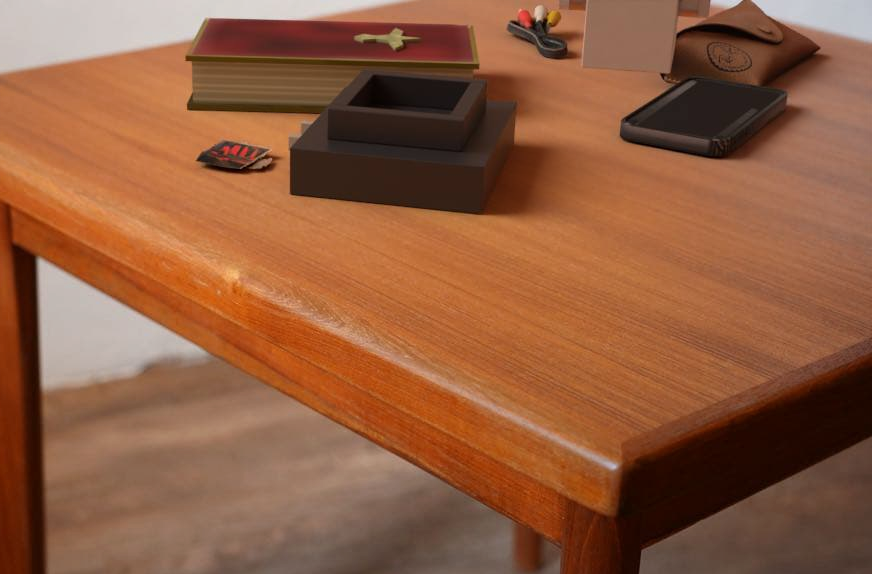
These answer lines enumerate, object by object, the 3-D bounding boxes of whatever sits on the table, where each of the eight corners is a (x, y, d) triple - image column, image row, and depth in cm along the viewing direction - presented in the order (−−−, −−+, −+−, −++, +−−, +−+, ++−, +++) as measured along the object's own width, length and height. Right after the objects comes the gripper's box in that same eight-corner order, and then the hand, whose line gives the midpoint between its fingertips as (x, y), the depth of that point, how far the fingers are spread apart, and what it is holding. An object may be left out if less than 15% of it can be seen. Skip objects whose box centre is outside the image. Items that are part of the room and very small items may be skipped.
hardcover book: (207, 65, 116) (206, 13, 114) (469, 72, 115) (472, 20, 113) (187, 109, 105) (185, 51, 103) (476, 117, 104) (479, 60, 102)
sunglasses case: (762, 92, 108) (729, 9, 107) (678, 125, 112) (645, 46, 112) (825, 47, 122) (796, -27, 121) (748, 78, 126) (719, 7, 125)
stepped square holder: (513, 144, 99) (519, 72, 97) (481, 214, 87) (486, 134, 85) (322, 126, 102) (323, 56, 100) (264, 191, 90) (264, 113, 88)
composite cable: (571, 59, 119) (574, 29, 118) (513, 58, 119) (516, 28, 118) (557, 30, 128) (559, 2, 127) (503, 29, 128) (505, 1, 127)
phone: (615, 122, 100) (691, 74, 111) (614, 138, 100) (689, 88, 111) (726, 143, 96) (793, 90, 107) (724, 159, 96) (791, 105, 108)
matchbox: (191, 167, 93) (191, 159, 93) (215, 143, 98) (215, 136, 97) (261, 173, 92) (261, 166, 92) (282, 149, 97) (282, 142, 97)
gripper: (918, -319, 61) (863, 9, 67) (442, -323, 66) (432, -16, 72) (935, -314, 56) (873, 42, 62) (414, -319, 60) (406, 13, 66)
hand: (632, 11), depth 67 cm, fingers closed on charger, 4 cm apart
